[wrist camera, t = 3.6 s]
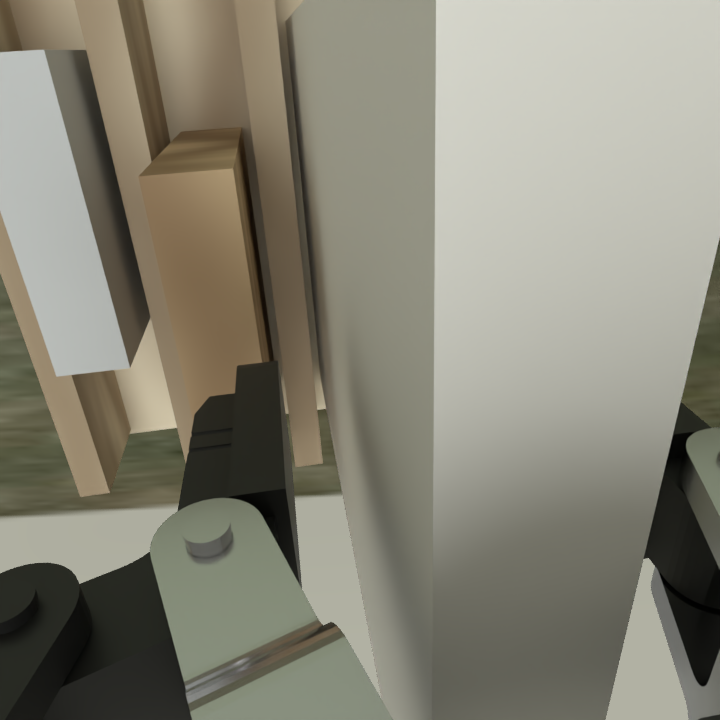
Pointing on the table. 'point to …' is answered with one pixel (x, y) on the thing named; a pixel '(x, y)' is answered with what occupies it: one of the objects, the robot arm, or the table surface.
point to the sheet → (504, 321)
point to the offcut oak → (208, 258)
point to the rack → (131, 157)
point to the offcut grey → (68, 212)
